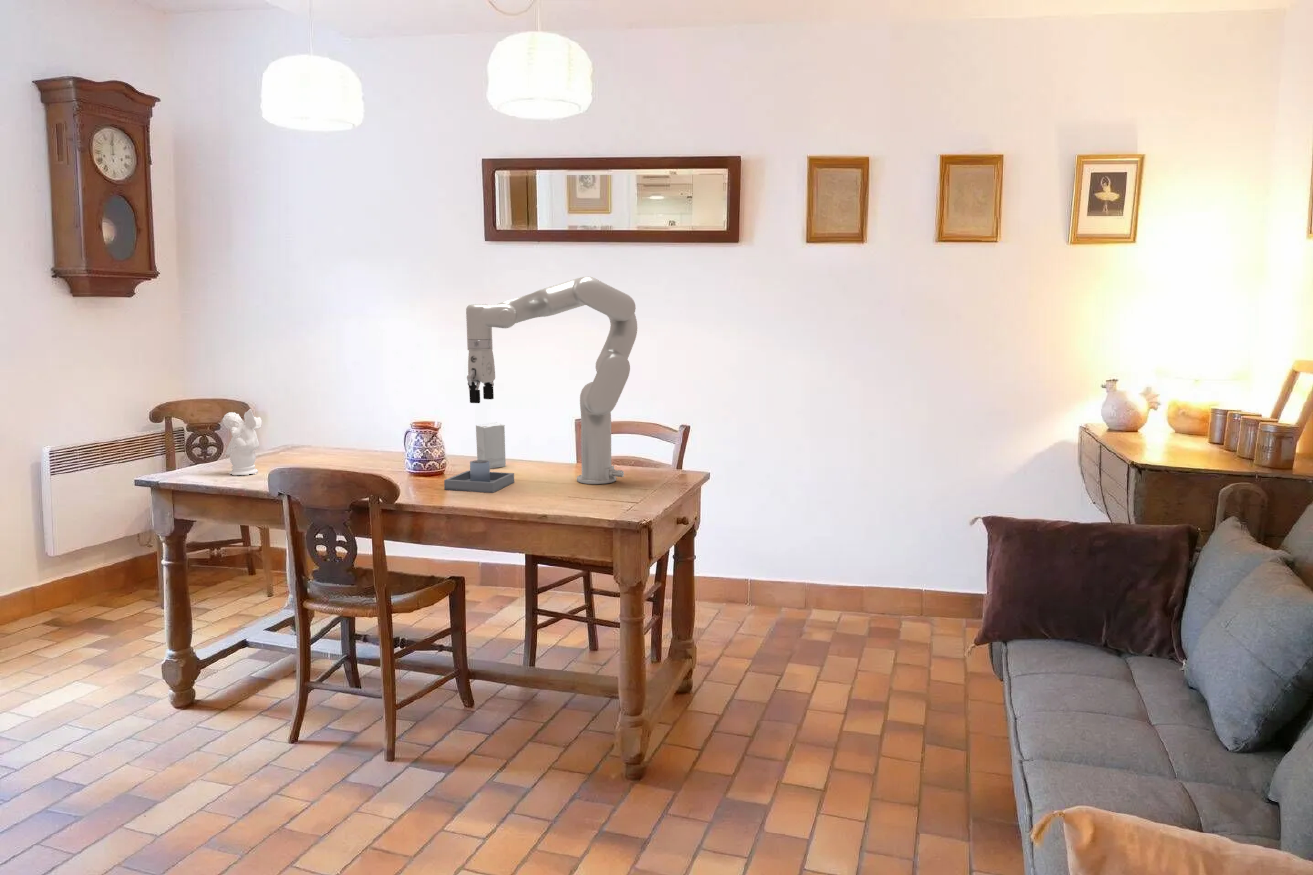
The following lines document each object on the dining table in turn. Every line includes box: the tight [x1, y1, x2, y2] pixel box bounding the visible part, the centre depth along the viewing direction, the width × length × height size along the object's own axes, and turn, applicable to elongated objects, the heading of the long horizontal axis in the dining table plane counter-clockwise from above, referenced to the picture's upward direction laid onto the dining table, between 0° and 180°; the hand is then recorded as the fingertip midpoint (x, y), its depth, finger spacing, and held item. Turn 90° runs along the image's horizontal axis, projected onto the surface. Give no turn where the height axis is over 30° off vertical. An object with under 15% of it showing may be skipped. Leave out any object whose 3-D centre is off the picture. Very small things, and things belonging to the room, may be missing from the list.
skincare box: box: [475, 422, 507, 470], centre depth 331 cm, size 8×6×15 cm
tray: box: [443, 470, 515, 494], centre depth 301 cm, size 16×16×3 cm
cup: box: [469, 459, 491, 482], centre depth 301 cm, size 6×6×7 cm
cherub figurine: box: [222, 408, 263, 476], centre depth 319 cm, size 12×12×22 cm
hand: (481, 401), depth 298 cm, fingers open, 9 cm apart
